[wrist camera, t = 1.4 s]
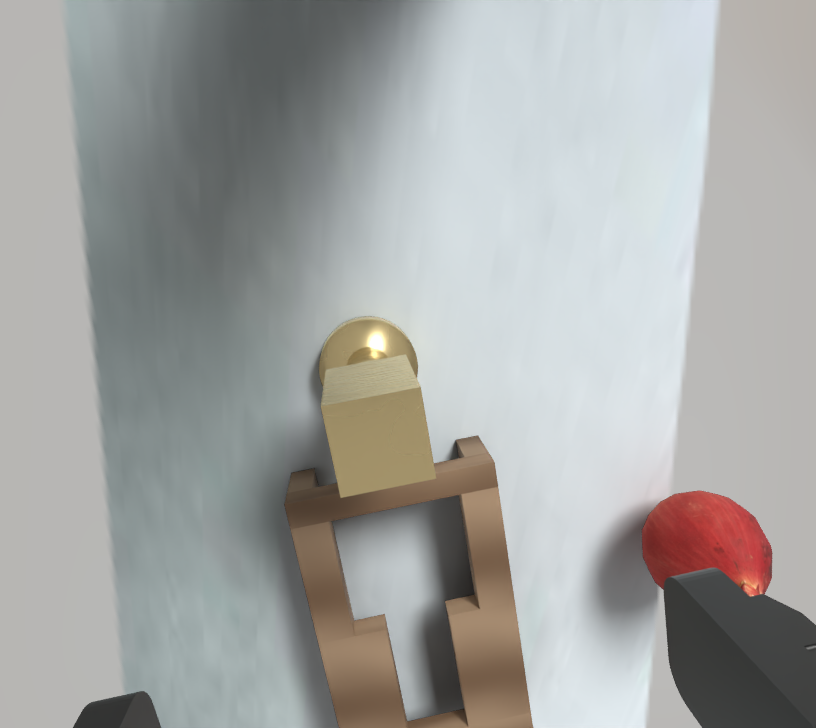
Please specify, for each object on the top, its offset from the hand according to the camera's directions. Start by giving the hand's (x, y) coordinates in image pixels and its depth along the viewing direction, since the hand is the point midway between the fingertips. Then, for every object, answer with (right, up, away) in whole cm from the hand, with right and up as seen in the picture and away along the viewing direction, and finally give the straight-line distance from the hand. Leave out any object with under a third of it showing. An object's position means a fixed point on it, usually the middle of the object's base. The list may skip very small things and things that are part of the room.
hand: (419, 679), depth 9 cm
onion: (+14, -4, +25) cm, 29 cm away
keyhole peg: (-2, +5, +21) cm, 21 cm away
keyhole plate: (0, -9, +24) cm, 26 cm away
